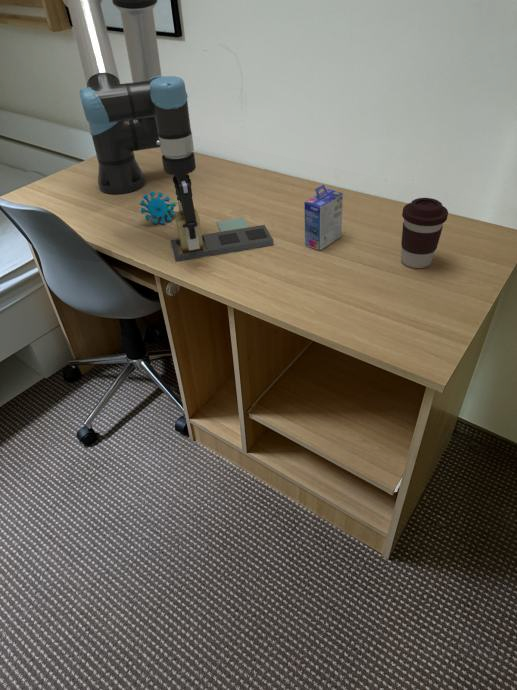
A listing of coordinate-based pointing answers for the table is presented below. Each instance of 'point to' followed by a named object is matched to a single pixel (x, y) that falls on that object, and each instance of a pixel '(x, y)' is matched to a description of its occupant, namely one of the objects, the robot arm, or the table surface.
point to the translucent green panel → (232, 224)
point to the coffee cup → (421, 231)
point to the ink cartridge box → (323, 218)
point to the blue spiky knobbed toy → (158, 207)
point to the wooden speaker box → (182, 232)
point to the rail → (227, 242)
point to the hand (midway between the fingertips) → (190, 236)
